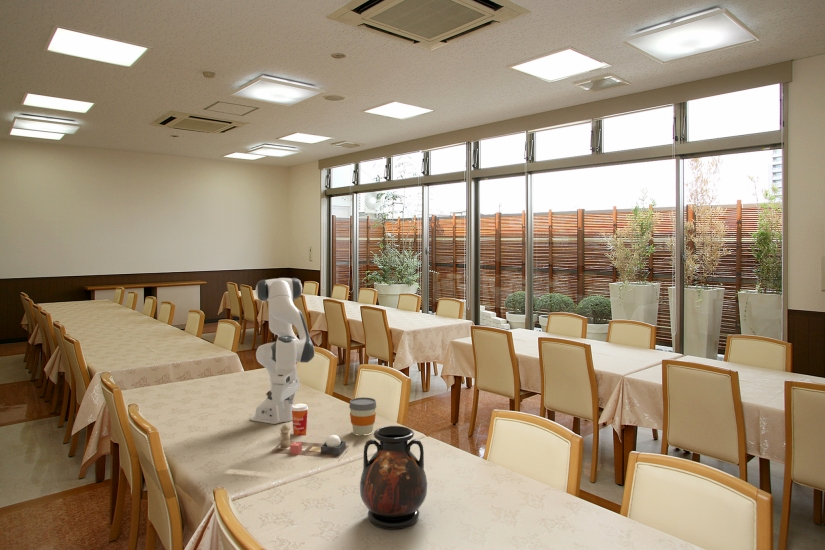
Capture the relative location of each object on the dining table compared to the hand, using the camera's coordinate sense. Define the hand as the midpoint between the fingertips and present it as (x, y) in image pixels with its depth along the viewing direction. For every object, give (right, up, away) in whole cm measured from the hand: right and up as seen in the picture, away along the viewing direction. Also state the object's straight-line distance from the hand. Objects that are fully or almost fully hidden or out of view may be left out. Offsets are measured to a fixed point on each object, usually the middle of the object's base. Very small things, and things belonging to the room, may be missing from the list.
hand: (286, 406), depth 227 cm
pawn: (-1, -17, +1) cm, 17 cm away
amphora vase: (+47, -22, -55) cm, 76 cm away
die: (+5, -18, -5) cm, 19 cm away
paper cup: (+2, -18, +19) cm, 26 cm away
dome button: (+20, -17, -3) cm, 27 cm away
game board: (+10, -19, -1) cm, 21 cm away
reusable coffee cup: (+30, -18, +23) cm, 42 cm away
